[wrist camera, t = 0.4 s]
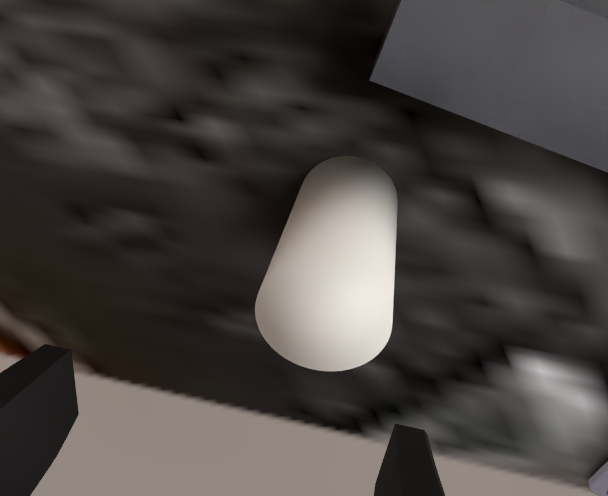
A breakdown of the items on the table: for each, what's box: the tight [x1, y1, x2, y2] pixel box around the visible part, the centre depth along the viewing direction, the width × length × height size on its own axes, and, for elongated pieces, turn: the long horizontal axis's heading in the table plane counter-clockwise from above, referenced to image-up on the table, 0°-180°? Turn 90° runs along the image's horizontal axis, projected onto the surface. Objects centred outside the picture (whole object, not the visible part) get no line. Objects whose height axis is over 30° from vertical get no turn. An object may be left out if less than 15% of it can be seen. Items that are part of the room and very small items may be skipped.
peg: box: [255, 156, 398, 371], centre depth 17 cm, size 4×4×7 cm
